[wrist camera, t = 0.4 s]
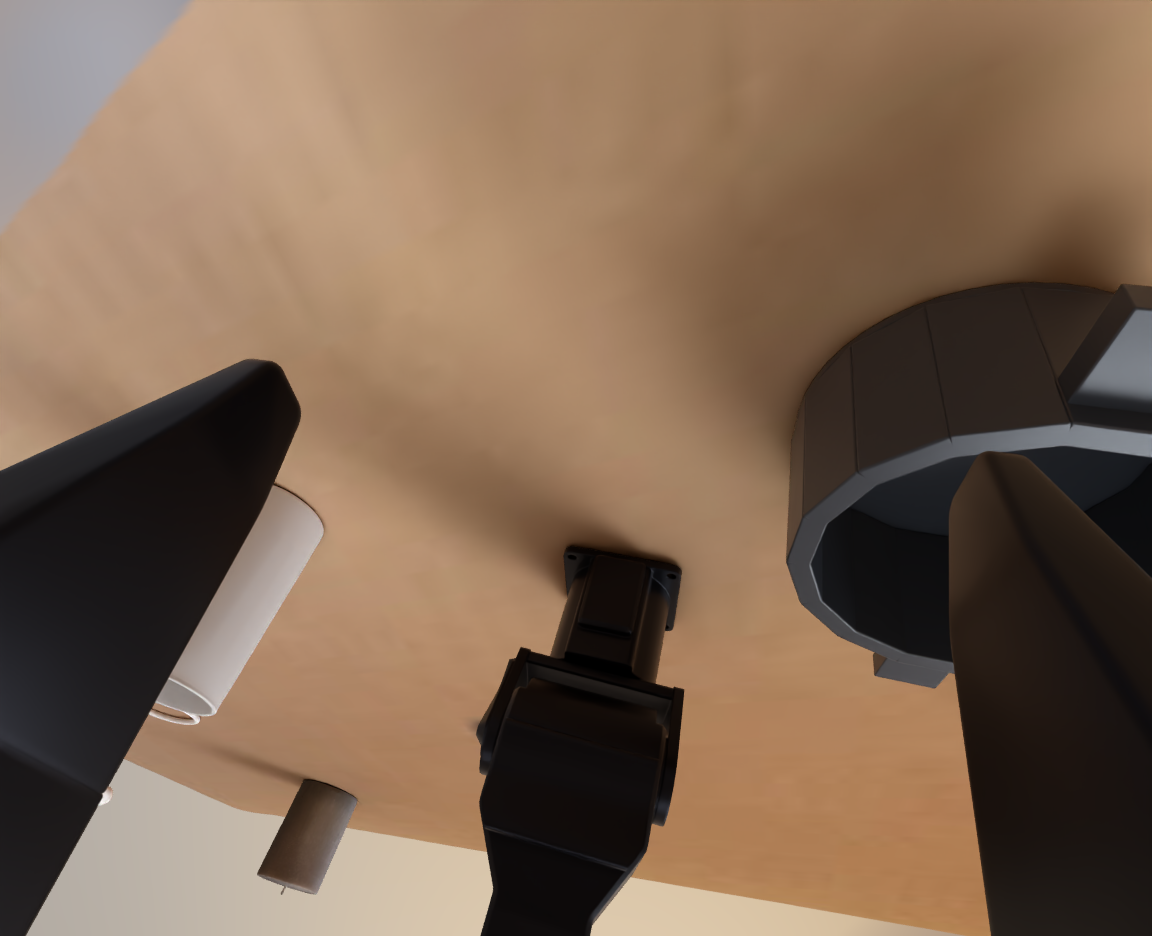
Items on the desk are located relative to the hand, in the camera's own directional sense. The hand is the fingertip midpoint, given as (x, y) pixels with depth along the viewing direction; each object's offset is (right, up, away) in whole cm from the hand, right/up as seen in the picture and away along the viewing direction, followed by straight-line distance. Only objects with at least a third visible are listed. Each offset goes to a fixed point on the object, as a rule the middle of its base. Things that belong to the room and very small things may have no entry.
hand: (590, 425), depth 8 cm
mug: (-21, -3, +34) cm, 40 cm away
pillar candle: (-41, -54, +98) cm, 119 cm away
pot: (+15, +1, +15) cm, 21 cm away
